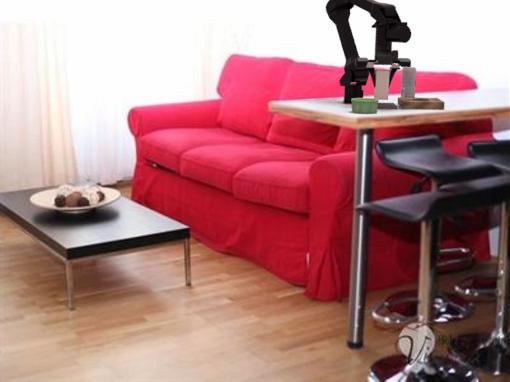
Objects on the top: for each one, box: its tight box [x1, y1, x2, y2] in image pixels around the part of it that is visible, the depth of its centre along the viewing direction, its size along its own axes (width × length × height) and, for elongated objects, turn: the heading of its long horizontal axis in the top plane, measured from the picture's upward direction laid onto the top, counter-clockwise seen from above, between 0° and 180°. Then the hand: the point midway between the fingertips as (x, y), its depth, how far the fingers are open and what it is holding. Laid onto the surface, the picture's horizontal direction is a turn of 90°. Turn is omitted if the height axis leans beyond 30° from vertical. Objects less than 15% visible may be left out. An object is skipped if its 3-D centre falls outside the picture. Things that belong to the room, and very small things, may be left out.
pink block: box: [373, 69, 390, 101], centre depth 266 cm, size 4×4×10 cm
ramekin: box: [351, 97, 380, 115], centre depth 253 cm, size 9×9×4 cm
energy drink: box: [400, 67, 417, 98], centre depth 291 cm, size 5×5×12 cm
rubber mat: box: [377, 102, 398, 110], centre depth 267 cm, size 10×10×1 cm
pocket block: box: [397, 96, 446, 111], centre depth 268 cm, size 14×14×2 cm
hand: (381, 87), depth 266 cm, fingers closed on pink block, 4 cm apart
